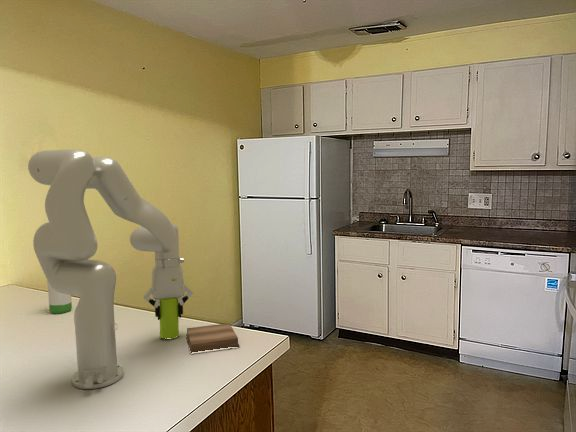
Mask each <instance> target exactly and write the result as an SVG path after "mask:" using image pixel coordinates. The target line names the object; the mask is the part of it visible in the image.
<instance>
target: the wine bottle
mask: <svg viewBox="0 0 576 432" xmlns="http://www.w3.org/2000/svg"><path fill="white" fill-rule="evenodd" d="M46 282H47V294H48V304H49V305H48V306H49V311H50V314H51V313H52V314H56V315H59V314H65V313H67V312H70V311H71V310H72V308H73V304H72V295H68V294H62V293H59V292H57V291H55V290H54V289H53V288H52V287H51V286H50V284H49V282H48V280H47V279H46Z"/></svg>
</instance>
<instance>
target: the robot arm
mask: <svg viewBox="0 0 576 432" xmlns="http://www.w3.org/2000/svg"><path fill="white" fill-rule="evenodd" d="M27 165H28V166H27V169H28V172H29V175H30V176H31V178H32V179H33V180H34V181H35V182H36V183H38V184H41V185H45V186H49V189H48V190H47V192H46V196H45V199H44V200H45V201H44V210H45V215H46V217H47V221H48V222H45V223H43V224H41V225H40V226H39V227H38V228H37V229H36V230H35V232H34V235H33V240H32V241H33V243H32V244H33V250H34V253H35V255H36V258H37V260H38V263H39V264H40V267H41V270H42V272H43V274H44V276H45V278H46V281H47V280H48V282H49V284H50V286H51V287H52V288H53V289H54V290H55V291H57V292H59V293H62V294H68V295H71V296H76V297H79V300H78V302H77V305H76V307H75V310H74V314H73V316H74V317H73V319H74V320H73V321H74V331H75V333H74V334H75V347H76V348H75V349H76V360H77V362H76V363H77V372H76V373H75V374H74V375H72V377H71V383H72V385H73V387H76V388H77V389H81V390H83V389H84V390H92V389H94V390H96V389H100V388H103V387H106V386H107V387H108V386H110V385H112V384H114V383H116V382H118V381H120V380H121V379H122V377H124V373H125V371H124V370H125V369H124V367H123V366H121V365H120V364H118V358H117V356H118V355H117V341H116V340H117V339H116V331H115V309H114V308H115V307H114V306H115V303H114V301H115V291H116V285H117V274H116V270H115V269H114V267H113V266H112V265H110V264H109V263H107V261H103V260H98V259H91V258H93V257H94V256H95V255H96V253H97V251H98V241H97V236H96V234H95V231H94V229H93V225H92V223H91V220H90V218H89V215H88V213H87V209H86V205H85V202H84V201H85V198H84V197H85V193H86V190H87V189H88V190H89V189H93V190H95V191H97V192H98V194H99V195H100V196H101V197H102V199H103V200H104V202H105V203H106V204H107V206H108V207H109V209H110V210H111V212H112V213H113V214H114V215H115V216H117V217H119V218H120V219H123V220H126V221H128V222H129V223H130V222H131V223H134V224H137V225H139V226H138V227H137V228H135V229H133V231H132V232H131V234H130V236H129V242H130V245H131V247H132V248H134V249H135V250H137V251H140V252H154V263H155V265H154V267H152V273H151V286H150V288H149V289H148V290H147V291H146V292H145V294H144V295H143V299H144V300H145V301H147V302H148V303H149V304H150V305H152V306H153V308H154V313H155V316H154V317H156V318H157V320H158V321H160V300H161V299H166V298H177V299H178V319H179V318H182V315H184V304H185V303H186V302H187V301H188V300H189V298H190V297H192V295H193V294H194V292H193V290H191V289H190V288H189V287H188V286H186V284H185V278H184V270H183V266H182V265H181V264H182V263H184V262H185V258H184V257H180V243H179V242H180V240H179V239H180V237H179V227H178V226H177V224H174V223H171V221H170V219H169V217H167V215H166V214H165V213H164V212H163V211H162V210H160V209H159V208H158V207H156V206H154V205H153V204H152V203H150V202H149V201H147V200H145V198H143V197H141V195H140V194H139V193H138V191H137V190H136V188H135V186H134V185H133V183H132V181H131V180H130V178H129V177H128V175H127V174H126V172H125V171H124V169H123V168H122V166H121V165H120V163H119V162H118V161H117V160H116V159H114V158H111V157H107V156H106V157H105V156H94V157H93V156H92V155H91V154H90V153H89V152H87V151H85V150H81V149H74V148H73V149H69V148H68V149H48V150H47V149H45V150H41V151H37V152H36V153H34V154H33V155H32V156H31V157H30V159H29V160H28V164H27ZM172 279H179V280H176V281H172ZM48 282H47V283H48ZM185 292H186V294H185ZM151 296H152V297H151Z"/></svg>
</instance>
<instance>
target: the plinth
mask: <svg viewBox="0 0 576 432" xmlns="http://www.w3.org/2000/svg"><path fill="white" fill-rule="evenodd" d="M185 335H186V336H187V338H186V341H187V340H188V342H187V345H188V344H189V346H188V349H189V348H190V349H189V352H190V351H191V353H192V352H198V351H205V350H213V349H220V348H228V347H239V348H240V344H239V337H238V336H237V334H236V332H235V330H234V329H233V327H232V325H231V323H230V322H227V323H226V322H225V323H219V324H210V325H203V326H193V327H187V328H186V334H185ZM191 353H190V354H191Z"/></svg>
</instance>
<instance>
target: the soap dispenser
mask: <svg viewBox="0 0 576 432" xmlns="http://www.w3.org/2000/svg"><path fill="white" fill-rule="evenodd" d="M176 280H179V279H172V281H176ZM178 303H179V301H178V299H177V298H166V299H161V300H160V302H159V306H160V320H159V337H161V338H166V339H167V338H174V337H176V336H178V335H179V334H180V333H179V332H180V331H179V328H180V327H179V323H180V322H179V320H180V319H179V316H178ZM178 337H179V336H178ZM161 338H160V339H161Z"/></svg>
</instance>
